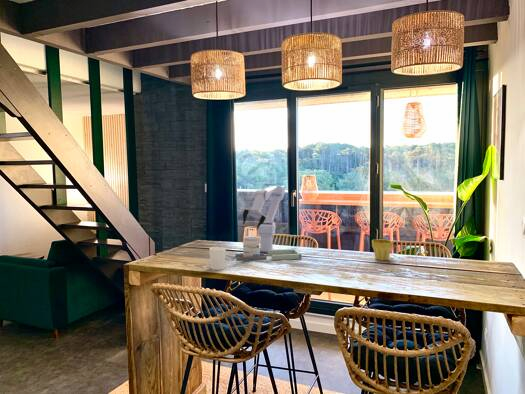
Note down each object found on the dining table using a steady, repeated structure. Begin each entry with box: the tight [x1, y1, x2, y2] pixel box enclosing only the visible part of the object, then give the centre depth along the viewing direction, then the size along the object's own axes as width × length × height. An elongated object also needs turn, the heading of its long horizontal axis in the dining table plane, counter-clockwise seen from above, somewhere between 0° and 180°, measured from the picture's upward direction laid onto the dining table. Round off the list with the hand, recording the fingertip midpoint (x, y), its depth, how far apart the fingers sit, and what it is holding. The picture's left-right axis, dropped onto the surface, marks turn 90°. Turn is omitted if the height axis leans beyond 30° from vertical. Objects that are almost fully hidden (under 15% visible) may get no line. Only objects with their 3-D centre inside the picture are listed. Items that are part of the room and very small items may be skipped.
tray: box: [267, 248, 302, 261], centre depth 222 cm, size 14×16×2 cm
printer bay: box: [234, 252, 268, 261], centre depth 219 cm, size 9×16×2 cm, turn 98°
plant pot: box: [371, 238, 393, 261], centre depth 214 cm, size 10×10×10 cm
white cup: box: [209, 246, 226, 271], centre depth 196 cm, size 8×8×10 cm
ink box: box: [242, 235, 261, 257], centre depth 219 cm, size 8×5×12 cm, turn 84°
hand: (250, 225), depth 215 cm, fingers open, 7 cm apart
